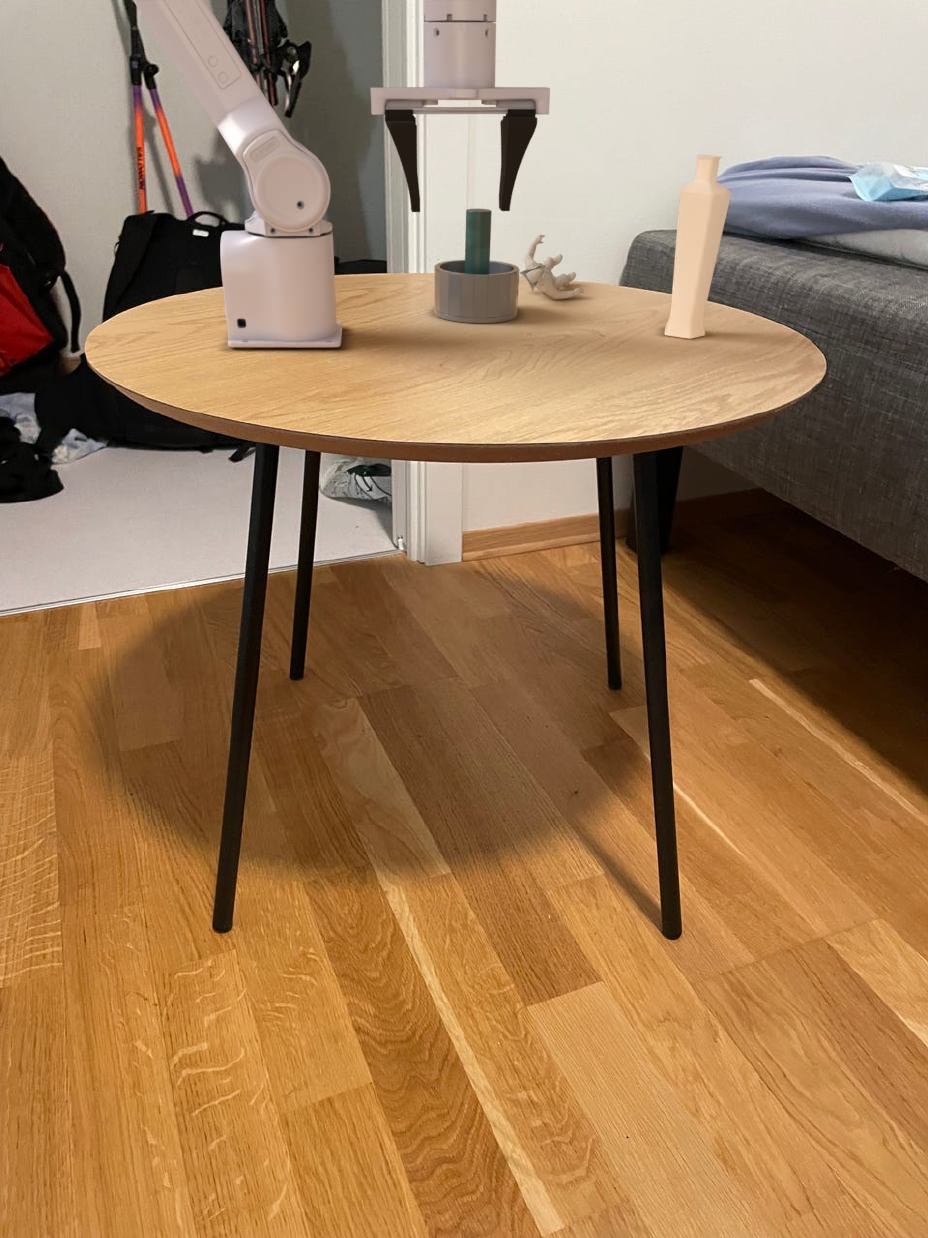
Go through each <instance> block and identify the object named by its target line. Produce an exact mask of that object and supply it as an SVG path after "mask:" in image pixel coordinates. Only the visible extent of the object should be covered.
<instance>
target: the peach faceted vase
mask: <svg viewBox="0 0 928 1238" xmlns="http://www.w3.org/2000/svg"><path fill="white" fill-rule="evenodd" d="M696 158H697V161H696V168H695V175H694V179H693V180H692V181H690V182H688V183H687V184H685V185H683V186H682V187H680V189H679V196H678V197H679V199H678V209H677V210H678V212H677V222H676V223H677V224H676V235H675V249H674V250H675V251H674V252H675V253H674V263H673V277H672V288H671V289H672V291H671V302H670V303H671V304H670V314H669V316H668V319H667V322H666V325H665V329H664V335H665V336H669V337H675V338H682V339H695V338H699V337H703V336H706V331H705V321H704V316H705V311H706V307H707V303H708V300H709V299H708V298H709V293H710V290H711V285H712V281H713V276H714V272H715V267H716V263H717V258H718V255H719V249H720V245H721V240H722V237H723V232H724V229H725V228H724V227H725V222H726V219H727V215H728V214H727V213H728V209H729V205H730V201H731V197H732V191H731V190H729V189H728V188H726V187H725V186H724V185H722V184H721V183H719V182H718V181H717V179H718V173H719V165H720V160H721V159H722V156H721V155H714V154H696Z"/></svg>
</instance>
